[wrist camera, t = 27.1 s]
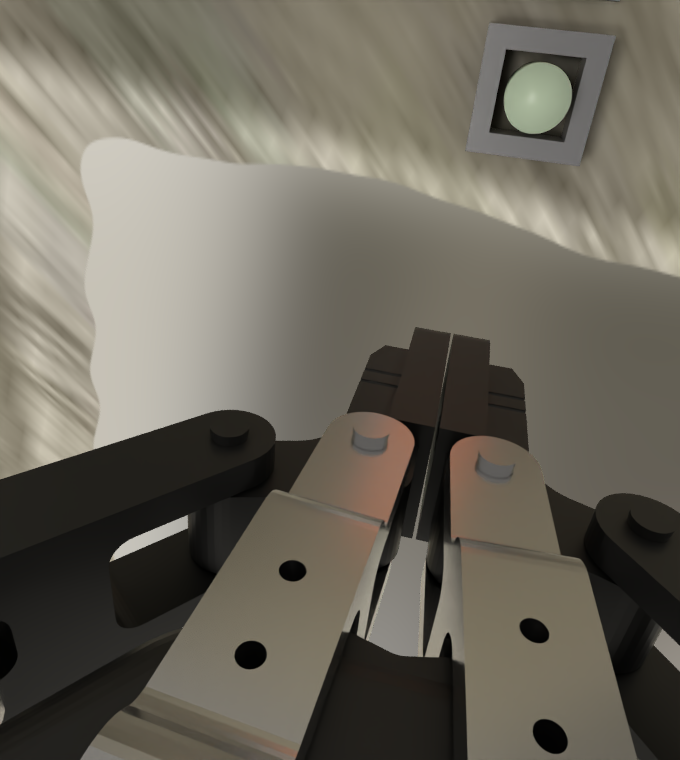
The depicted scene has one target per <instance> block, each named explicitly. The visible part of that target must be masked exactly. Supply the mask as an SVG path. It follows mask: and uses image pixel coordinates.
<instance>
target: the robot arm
mask: <svg viewBox="0 0 680 760" xmlns="http://www.w3.org/2000/svg"><path fill="white" fill-rule="evenodd" d="M449 341H450V333H445V332H440V331H434V330H429V329H423V328H418V327H416V328H415V330H414V334H413V337H412V341H411V344H410V347H409V350H408V349H402V348H397V347H392V346H386V345H385V346H384V347H382V348H381V349H379V350H377V351H376V352H374V353H373V354H371V355H370V358H369V360H368V363H367V365H366V368H365V370H364V372H363V375H362V377H361V381H360V382H359V385H358V387H357V390H356V392H355V395H354V397H353V399H352V402H351V404H350V407H349V409H348V412H347V414H345V415H342V416H340V417H338V418H336V419H335V420H333V421H332V422H331V423H330V425H329V426H328V428H327V429H326V431H325V433H324V434H323V436H322V437H321V438H317V439H313V440H306V441H275V438H276V434H275V430H274V428H273V427H272V426H271V424H270V423H269V422H268V421H267V420H265V419H264V418H262V417H260V416H258V415H256V414H253V413H250V412H246V411H239V410H221V411H215V412H211V413H207V414H204V415H201V416H198V417H195V418H191V419H188V420H185V421H182V422H179V423H176V424H173V425H170V426H167V427H164V428H160V429H157V430H154V431H151V432H148V433H144V434H141V435H139V436H135V437H132V438H129V439H126V440H123V441H120V442H116V443H113V444H110V445H107V446H104V447H101V448H98V449H94V450H91V451H88V452H85V453H82V454H79V455H76V456H73V457H69V458H66V459H63V460H60V461H57V462H54V463H51V464H48V465H44V466H41V467H38V468H35V469H32V470H29V471H26V472H23V473H19V474H16V475H13V476H10V477H7V478H4V479H1V480H0V760H680V672H679V671H678V670H677V668H675V667H674V665H673V664H672V663H670V661H669V660H668V659H667V658H666V657H665V656H664V655H663V654H662V653H661V652H659V650H658V649H657V648H656V647H655V646H654V643H655V641H656V640H657V637H658V636H659V634H660V632H661V630H662V629H663V630H664V631H666V632H667V634H669V636H671V637H672V638H673V639H674V640H675V641H676V642H677V643H678V644H679V645H680V513H678V512H677V511H675V510H674V509H672V508H670V507H669V506H667V505H665V504H663V503H661V502H658V501H656V500H653V499H651V498H648V497H644V496H641V495H635V494H626V493H621V494H613V495H609V496H606V497H604V498H603V499H602V500H600V501H599V503H598V504H597V506H596V509H593V508H590V507H588V506H585V505H583V504H581V503H578V502H576V501H574V500H571V499H569V498H567V497H565V496H563V495H561V494H560V493H558V492H556V491H554V490H553V489H552V488H550V487H549V486H547V485H546V484H545V482H544V477H543V473H542V469H541V466H540V464H539V463H538V461H537V460H536V459H535V458H534V456H533V455H531V454H530V453H529V448H528V434H527V420H526V414H525V411H526V408H525V401H524V400H525V394H524V383H523V382H522V381H521V379H520V378H519V377H518V376H517V375H516V373H515V372H514V371H513V369H510V368H505V367H500V366H494V365H489V358H490V341H489V340H485V339H479V338H473V337H468V336H463V335H457V334H454V335H453V339H452V344H451V349H450V353H449V358H448V363H447V368H446V373H445V377H444V371H445V365H446V358H447V353H448V347H449ZM443 377H444V383H443ZM442 383H443V387H442ZM441 390H442V392H441ZM440 396H441V397H440ZM430 450H431V451H430ZM429 455H430V457H429ZM428 460H429V464H428ZM427 465H428V469H427ZM426 469H427V475H426V481H425V488H424V493H423V499H422V505H421V512H420V518H419V523H418V529H417V536H416V539H417V540H422V541H426V542H428V549H427V556H426V560H425V564H424V568H423V573H422V578H421V592H420V593H421V595H420V616H419V637H418V638H419V639H418V657H408V656H399V655H396V654H393V653H390V652H389V651H386V650H384V649H383V648H381V647H379V646H377V645H375V644H373V643H371V642H369V638H370V635H371V631H372V628H373V625H374V622H375V618H376V615H377V612H378V609H379V605H380V602H381V599H382V596H383V592H384V590H385V586H386V583H387V580H388V577H389V573H390V568H391V563H392V560H393V559H394V557H395V556H396V554H397V552H398V549H399V544H400V538H401V536H404V537H408V538H412V536H413V531H414V526H415V522H416V517H417V512H418V507H419V503H420V498H421V493H422V488H423V484H424V479H425V474H426ZM186 515H188V529H185V530H183V531H181V532H179V533H176V534H174V535H172V536H169V537H167V538H165V539H162V540H160V541H158V542H155V543H153V544H151V545H148V546H146V547H144V548H142V549H139V550H137V551H135V552H132V553H130V554H128V555H125V556H123V557H121V558H119V559H116V560H114V561H111V562H110V559H111V557H112V555H113V554H114V552H115V551H116V550H117V549H118V548H119V547H120V546H121V545H122V544H123V543H125V542H126V541H128V540H129V539H132V538H134V537H136V536H138V535H141V534H143V533H145V532H148V531H150V530H153V529H155V528H157V527H160V526H162V525H165V524H167V523H169V522H172V521H174V520H176V519H179V518H181V517H184V516H186ZM182 627H183V628H182Z"/></svg>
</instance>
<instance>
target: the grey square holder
mask: <svg viewBox="0 0 680 760" xmlns="http://www.w3.org/2000/svg"><path fill="white" fill-rule="evenodd" d="M615 38H616V36H614V35H604V34H595V33H585V32H575V31H566V30H556V29H546V28H537V27H527V26H517V25H508V24H498V23H489V27H488V32H487V38H486V43H485V48H484V54H483V59H482V64H481V70H480V75H479V80H478V86H477V91H476V96H475V102H474V107H473V112H472V118H471V123H470V128H469V134H468V139H467V144H466V150H465V151H471V152H478V153H485V154H493V155H500V156H508V157H515V158H522V159H530V160H537V161H545V162H552V163H559V164H567V165H574V166H580V162H581V159H582V155H583V152H584V148H585V144H586V141H587V137H588V134H589V130H590V127H591V123H592V120H593V116H594V112H595V109H596V105H597V102H598V98H599V95H600V91H601V88H602V84H603V80H604V77H605V73H606V70H607V66H608V63H609V59H610V56H611V52H612V48H613V45H614V41H615ZM506 49H509V50H518V51H527V52H536V53H545V54H554V55H563V56H573V57H581V61H580V65H579V68H578V72H577V76H576V80H575V84H574V88H573V91H572V99H571V104H570V107H569V109H568V112H567V114H566V118H565V122H564V126H563V130H562V134H561V137H559V136H551V135H543V134H529V133H524V132H520V131H512V130H505V129H497V128H490V125H491V121H492V116H493V111H494V106H495V101H496V96H497V91H498V86H499V81H500V76H501V71H502V67H503V62H504V57H505V52H506Z"/></svg>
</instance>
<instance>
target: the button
mask: <svg viewBox="0 0 680 760" xmlns="http://www.w3.org/2000/svg"><path fill="white" fill-rule="evenodd" d="M571 99H572V88H571V84H570V81H569V79H568V77H567V75H566V74H565V73H564V72H563V71H562V70H561V69H560V68H559V67H557V66H555V65H553V64H550V63H547V62H543V61H535V62H530V63H527V64H525V65H523V66H521V67H520V68H519V69H517V70H516V71H515V72H514V73H513V74H512V76H511V77H510V79H509V80H508V82H507V85H506V87H505V91H504V108H505V113H506V116H507V118H508V120H509V121H510V123H511V124H512V125H513V126H514V127H515V128H516V129H518V130H520V131H522V132H524V133H529V134H538V133H543V132H546V131H548V130H550V129H552V128H553V127H555V126H556V125H557V124H559V123H560V122H561V120H562V119H563V118H564V117H565V115H566V113H567V112H568V109H569V107H570V104H571Z"/></svg>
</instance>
